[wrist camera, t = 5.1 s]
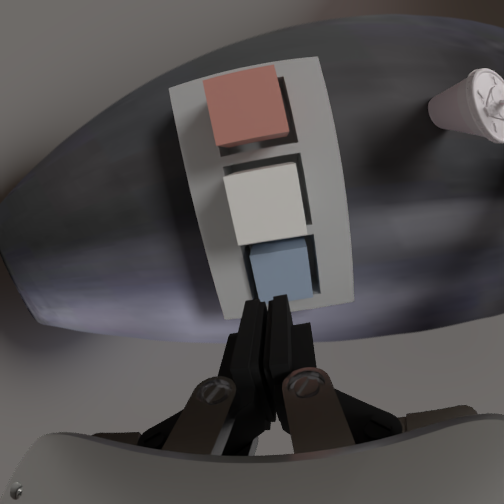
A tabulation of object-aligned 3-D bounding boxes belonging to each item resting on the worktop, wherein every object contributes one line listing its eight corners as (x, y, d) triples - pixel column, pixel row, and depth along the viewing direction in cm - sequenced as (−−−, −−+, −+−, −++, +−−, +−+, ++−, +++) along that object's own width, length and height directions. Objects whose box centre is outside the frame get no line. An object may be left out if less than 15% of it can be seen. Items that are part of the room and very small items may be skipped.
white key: (292, 161, 20) (295, 163, 16) (301, 218, 21) (307, 234, 17) (234, 172, 21) (222, 176, 16) (245, 227, 22) (238, 245, 18)
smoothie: (469, 128, 21) (559, 131, 7) (436, 150, 22) (531, 162, 9) (443, 77, 19) (527, 52, 6) (406, 96, 21) (494, 68, 8)
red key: (274, 82, 18) (274, 64, 14) (286, 136, 19) (289, 131, 15) (217, 94, 18) (202, 80, 14) (228, 147, 20) (216, 146, 16)
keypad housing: (310, 74, 21) (317, 56, 16) (342, 276, 28) (354, 301, 23) (188, 99, 23) (168, 88, 18) (233, 293, 30) (224, 319, 25)
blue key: (302, 230, 25) (306, 246, 21) (308, 274, 26) (313, 297, 22) (254, 238, 26) (249, 255, 22) (263, 281, 27) (260, 304, 23)
